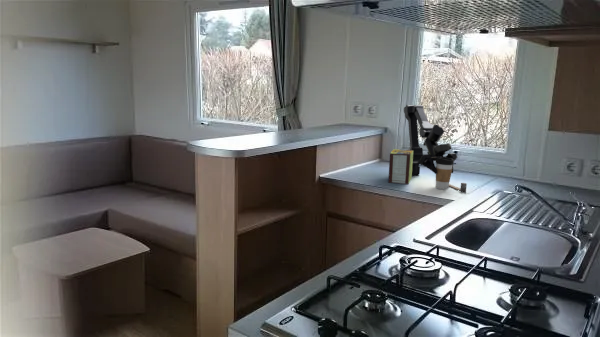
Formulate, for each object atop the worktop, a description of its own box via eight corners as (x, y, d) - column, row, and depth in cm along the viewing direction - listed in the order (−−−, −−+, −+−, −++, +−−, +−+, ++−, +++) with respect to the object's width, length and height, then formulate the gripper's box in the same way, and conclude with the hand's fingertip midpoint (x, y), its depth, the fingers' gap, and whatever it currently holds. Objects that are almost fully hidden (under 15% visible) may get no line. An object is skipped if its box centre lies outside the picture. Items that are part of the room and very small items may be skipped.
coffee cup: (430, 185, 231) (433, 156, 228) (446, 185, 232) (450, 156, 228) (436, 190, 223) (439, 159, 219) (453, 190, 224) (457, 159, 220)
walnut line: (467, 192, 220) (467, 183, 219) (462, 192, 219) (463, 184, 218) (444, 183, 238) (444, 175, 238) (439, 183, 238) (440, 175, 237)
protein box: (411, 178, 248) (413, 150, 245) (408, 184, 234) (410, 154, 231) (392, 176, 251) (393, 148, 249) (387, 182, 237) (389, 152, 234)
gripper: (424, 137, 223) (436, 164, 215) (456, 137, 229) (469, 162, 221) (414, 151, 232) (425, 177, 224) (445, 150, 238) (457, 175, 230)
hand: (444, 173), depth 224 cm, fingers open, 9 cm apart
